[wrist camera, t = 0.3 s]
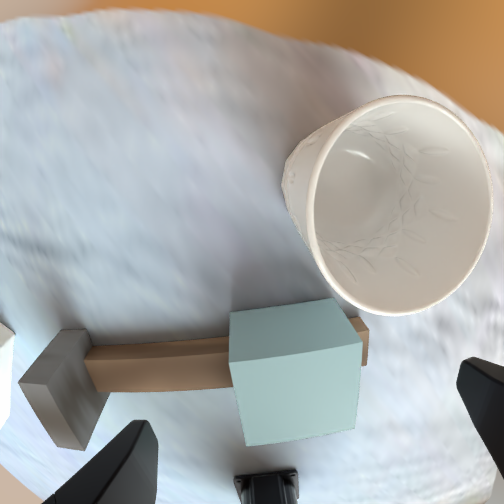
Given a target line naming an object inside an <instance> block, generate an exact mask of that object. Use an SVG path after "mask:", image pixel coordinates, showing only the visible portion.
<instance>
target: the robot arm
mask: <svg viewBox="0 0 504 504" xmlns="http://www.w3.org/2000/svg"><path fill="white" fill-rule="evenodd" d="M456 386H457V389H458V392H459V394H460V396H461V398H462V400H463V402H464V404H465V406H466V409H467V411H468V413H469V415H470V418H471V420H472V422H473V424H474V426H475V428H476V430H477V431H478V433H479V435H480V437H481V438H482V440H483V442H484V444H485V445H486V447H487V449H488V451H489V453H490V454H491V456H492V458H493V460H494V462H495V464H496V465H497V467H498V469H499V471H500V473H501V475H502V477H503V479H504V367H503V366H500V365H497V364H494V363H491V362H488V361H485V360H482V359H479V358H476V357H471V358H468V359H465V360H463V361H462V363H461V365H460V369H459V373H458V377H457V381H456ZM157 468H158V441H157V438H156V436H155V434H154V432H153V430H152V427H151V425H150V423H149V422H148V421H147V420H133V421H131V422H130V423H129V424H128V425H127V426H126V427H125V428H124V429H123V430H122V431H121V432H120V433H119V434H118V435H116V436H115V437H114V438H113V439H112V440H111V441H110V442H109V443H108V444H107V445H106V446H105V447H104V448H103V449H102V450H101V451H99V452H98V453H97V454H96V455H95V456H94V457H93V458H92V459H91V460H90V461H89V462H88V463H86V464H85V465H84V466H83V467H82V468H81V469H80V470H79V471H78V472H77V473H76V474H74V475H73V476H72V477H71V478H70V479H69V480H68V481H67V482H66V483H64V484H63V485H62V486H61V487H60V488H59V489H58V490H57V491H56V492H55V494H52V495H51V496H50V497H49V498H48V499H46V500H45V501H44V502H43V503H42V504H155V500H156V493H157ZM234 484H235V487H236V490H237V493H238V496H239V499H240V501H241V504H298V503H297V499H298V498H299V487H298V472H297V471H296V470H289V471H282V472H275V473H266V474H257V475H246V476H236V477H234Z"/></svg>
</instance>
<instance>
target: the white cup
mask: <svg viewBox="0 0 504 504" xmlns="http://www.w3.org/2000/svg"><path fill="white" fill-rule="evenodd" d="M281 188H282V192H283V195H284V199H285V203H286V207H287V210H288V212H289V214H290V217H291V219H292V221H293V223H294V225H295V227H296V229H297V231H298V233H299V235H300V236H301V238H302V240H303V241H304V243H305V245H306V246H307V248H308V250H309V251H310V253H311V255H312V257H313V258H314V260H315V262H316V264H317V265H318V267H319V269H320V271H321V273H322V274H323V276H324V277H325V279H326V280H327V282H328V283H329V284H330V286H331V287H332V288H333V289H334V290H335V291H336V292H337V293H338V294H339V295H340V296H341V297H342V298H344V299H345V300H346V301H348V302H349V303H351V304H352V305H354V306H356V307H358V308H360V309H362V310H364V311H367V312H370V313H373V314H377V315H383V316H404V315H410V314H414V313H418V312H421V311H423V310H426V309H428V308H430V307H432V306H434V305H436V304H438V303H439V302H441V301H443V300H444V299H445V298H447V297H448V296H449V295H451V294H452V293H453V292H454V291H455V290H456V289H457V288H458V287H459V286H460V285H461V284H462V283H463V282H464V281H465V280H466V278H467V277H468V276H469V274H470V273H471V272H472V270H473V269H474V267H475V265H476V264H477V262H478V260H479V258H480V256H481V254H482V252H483V249H484V247H485V244H486V242H487V238H488V235H489V231H490V227H491V222H492V214H493V187H492V180H491V175H490V170H489V167H488V163H487V160H486V158H485V155H484V153H483V151H482V148H481V146H480V145H479V143H478V141H477V139H476V138H475V136H474V135H473V133H472V132H471V130H470V129H469V128H468V127H467V126H466V124H465V123H464V122H463V121H462V120H461V119H460V118H459V117H458V116H456V115H455V114H454V113H453V112H451V111H450V110H449V109H447V108H446V107H444V106H442V105H440V104H438V103H436V102H434V101H432V100H429V99H426V98H422V97H418V96H411V95H394V96H387V97H383V98H379V99H376V100H373V101H371V102H369V103H366V104H364V105H363V106H361V107H359V108H357V109H355V110H353V111H351V112H349V113H347V114H345V115H343V116H341V117H339V118H337V119H335V120H333V121H331V122H329V123H327V124H325V125H323V126H322V127H320V128H319V129H317V130H316V131H314V132H313V133H311V134H310V135H309V136H308V137H307V138H305V139H303V140H301V141H300V142H299V144H298V145H297V146H296V148H295V149H294V150H293V152H292V153H291V154H290V156H289V157H288V158H287V160H286V161H285V166H284V172H283V177H282V182H281Z"/></svg>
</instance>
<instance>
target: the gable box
mask: <svg viewBox="0 0 504 504" xmlns="http://www.w3.org/2000/svg"><path fill="white" fill-rule="evenodd" d="M14 341H15V333H14V332H13V331H11V330H10V329H9V328H7V327H6V326H4V325H3V324H2V323H0V429H1V427H2V426H3V424H4V423H5V421H6V420H7V418H8V417H9V415H10V390H11V372H12V360H13V349H14Z"/></svg>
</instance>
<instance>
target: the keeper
mask: <svg viewBox="0 0 504 504" xmlns="http://www.w3.org/2000/svg"><path fill="white" fill-rule="evenodd" d="M362 347H363V341H362V340H361V338H360V337H359V335H358V334H357V332H356V331H355V329H354V327H353V326H352V324H351V323H350V321H349V320H348V318H347V317H346V315H345V314H344V312H343V311H342V309H341V307H340V306H339V304H338V303H337V301H336V300H335V298H329V299H323V300H316V301H309V302H303V303H296V304H289V305H282V306H275V307H267V308H260V309H252V310H244V311H236V312H230V329H229V367H230V372H231V377H232V382H233V387H234V391H235V396H236V401H237V406H238V410H239V415H240V420H241V424H242V429H243V433H244V438H245V442H246V447H248V446H257V445H266V444H274V443H281V442H288V441H295V440H301V439H307V438H312V437H318V436H323V435H328V434H333V433H338V432H342V431H347V430H351V429H355V423H356V415H357V406H358V396H359V386H360V375H361V362H362Z"/></svg>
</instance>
